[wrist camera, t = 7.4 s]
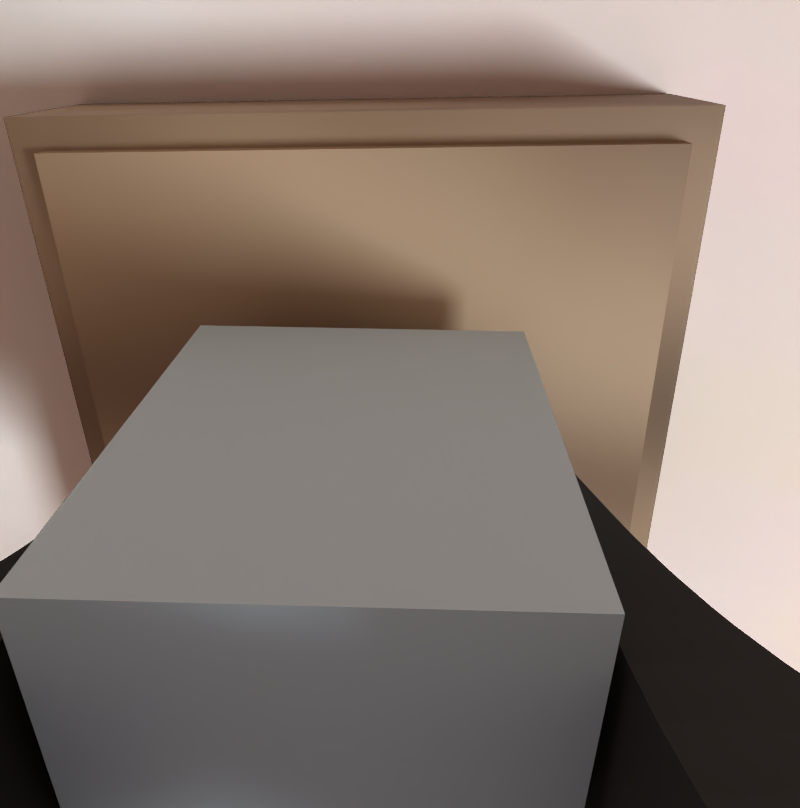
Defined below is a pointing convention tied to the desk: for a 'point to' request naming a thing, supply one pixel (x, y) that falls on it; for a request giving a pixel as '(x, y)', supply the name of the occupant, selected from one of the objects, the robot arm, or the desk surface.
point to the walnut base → (385, 242)
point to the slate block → (322, 585)
